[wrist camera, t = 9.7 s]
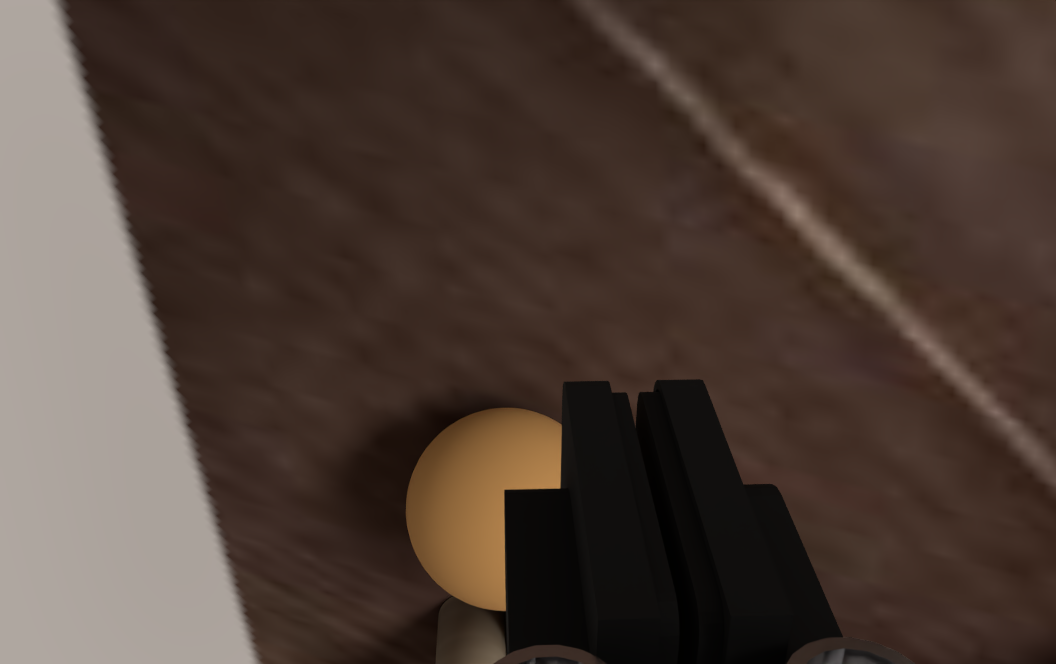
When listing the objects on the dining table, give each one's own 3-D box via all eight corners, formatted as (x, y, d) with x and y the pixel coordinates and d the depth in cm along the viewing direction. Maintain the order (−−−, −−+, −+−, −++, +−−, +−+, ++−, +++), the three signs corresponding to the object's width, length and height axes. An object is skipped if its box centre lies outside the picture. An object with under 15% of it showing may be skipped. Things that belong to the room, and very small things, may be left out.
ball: (418, 546, 34) (436, 374, 32) (594, 573, 33) (619, 400, 32) (375, 630, 28) (395, 425, 26) (588, 665, 27) (618, 458, 26)
